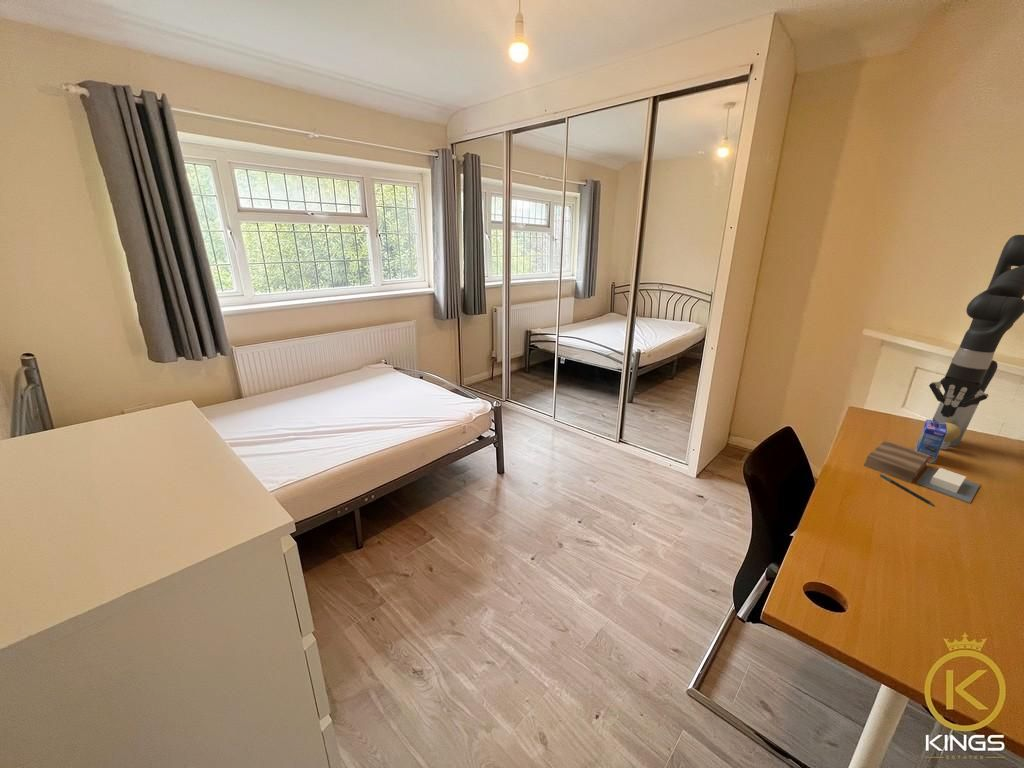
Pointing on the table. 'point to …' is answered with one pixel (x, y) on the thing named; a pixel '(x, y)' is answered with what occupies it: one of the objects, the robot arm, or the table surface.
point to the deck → (897, 461)
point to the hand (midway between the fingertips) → (945, 416)
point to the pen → (906, 490)
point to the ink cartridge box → (931, 439)
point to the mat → (963, 493)
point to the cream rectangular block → (947, 480)
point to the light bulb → (950, 434)
